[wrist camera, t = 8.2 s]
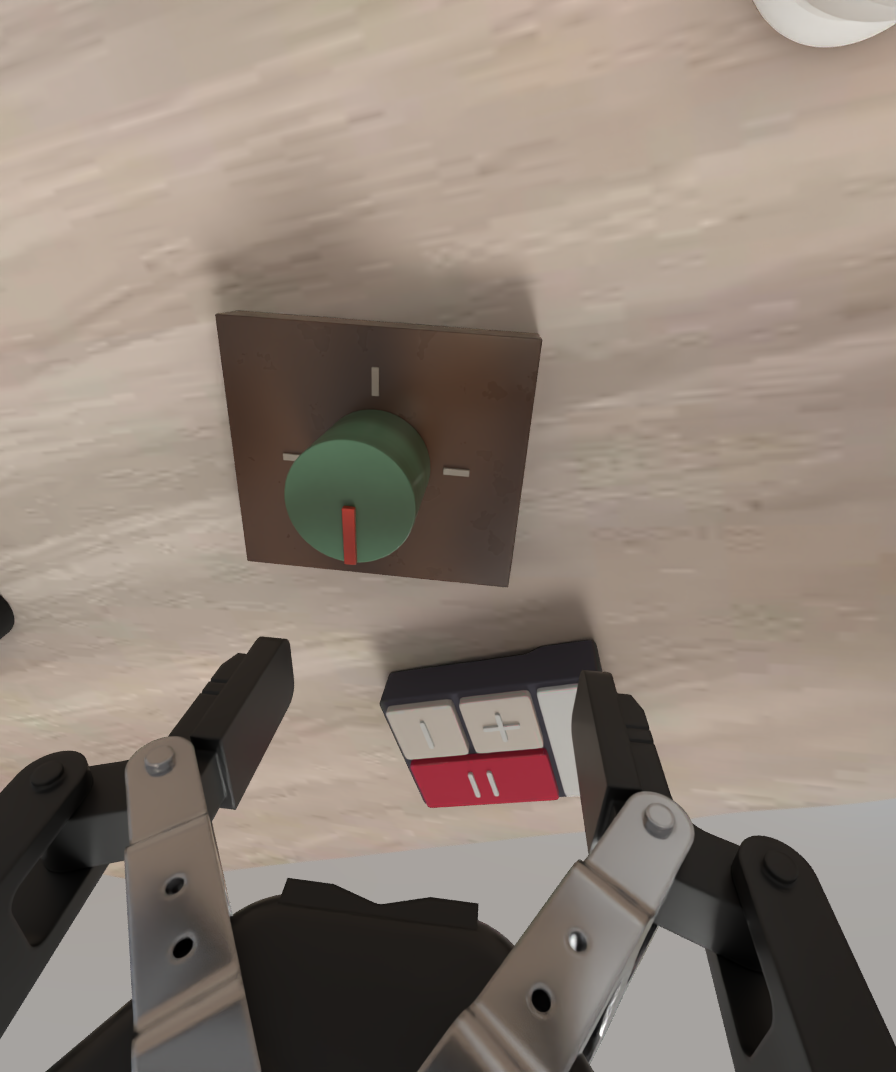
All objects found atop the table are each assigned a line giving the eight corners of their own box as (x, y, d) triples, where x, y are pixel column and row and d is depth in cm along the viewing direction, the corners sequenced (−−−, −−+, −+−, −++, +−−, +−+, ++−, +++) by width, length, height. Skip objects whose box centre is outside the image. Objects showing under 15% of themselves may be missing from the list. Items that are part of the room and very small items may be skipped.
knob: (317, 405, 27) (274, 436, 22) (432, 413, 27) (416, 446, 21) (324, 510, 30) (287, 560, 24) (428, 519, 29) (413, 571, 24)
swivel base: (539, 333, 27) (542, 339, 24) (507, 566, 33) (508, 589, 31) (237, 310, 28) (213, 313, 25) (263, 542, 34) (245, 562, 32)
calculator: (374, 709, 35) (603, 683, 31) (389, 666, 38) (595, 637, 35) (423, 815, 39) (628, 803, 35) (432, 767, 43) (619, 751, 39)
